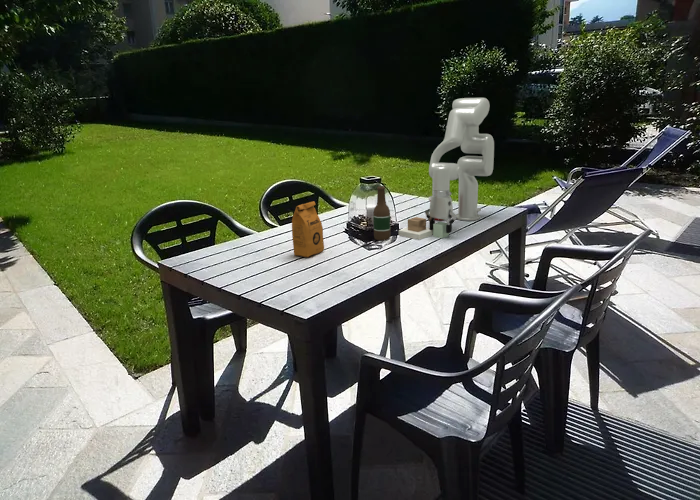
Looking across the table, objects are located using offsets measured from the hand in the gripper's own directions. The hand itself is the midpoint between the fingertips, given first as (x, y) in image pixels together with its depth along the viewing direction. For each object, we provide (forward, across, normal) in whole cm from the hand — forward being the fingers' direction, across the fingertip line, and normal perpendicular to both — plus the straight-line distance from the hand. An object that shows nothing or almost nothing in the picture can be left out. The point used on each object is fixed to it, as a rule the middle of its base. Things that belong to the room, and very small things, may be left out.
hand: (440, 230), depth 231 cm
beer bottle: (+3, +19, +19) cm, 27 cm away
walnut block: (0, +10, +5) cm, 11 cm away
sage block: (+3, 0, 0) cm, 3 cm away
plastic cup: (+2, +19, -24) cm, 31 cm away
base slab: (+3, +10, +5) cm, 11 cm away
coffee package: (+3, +28, +55) cm, 61 cm away
